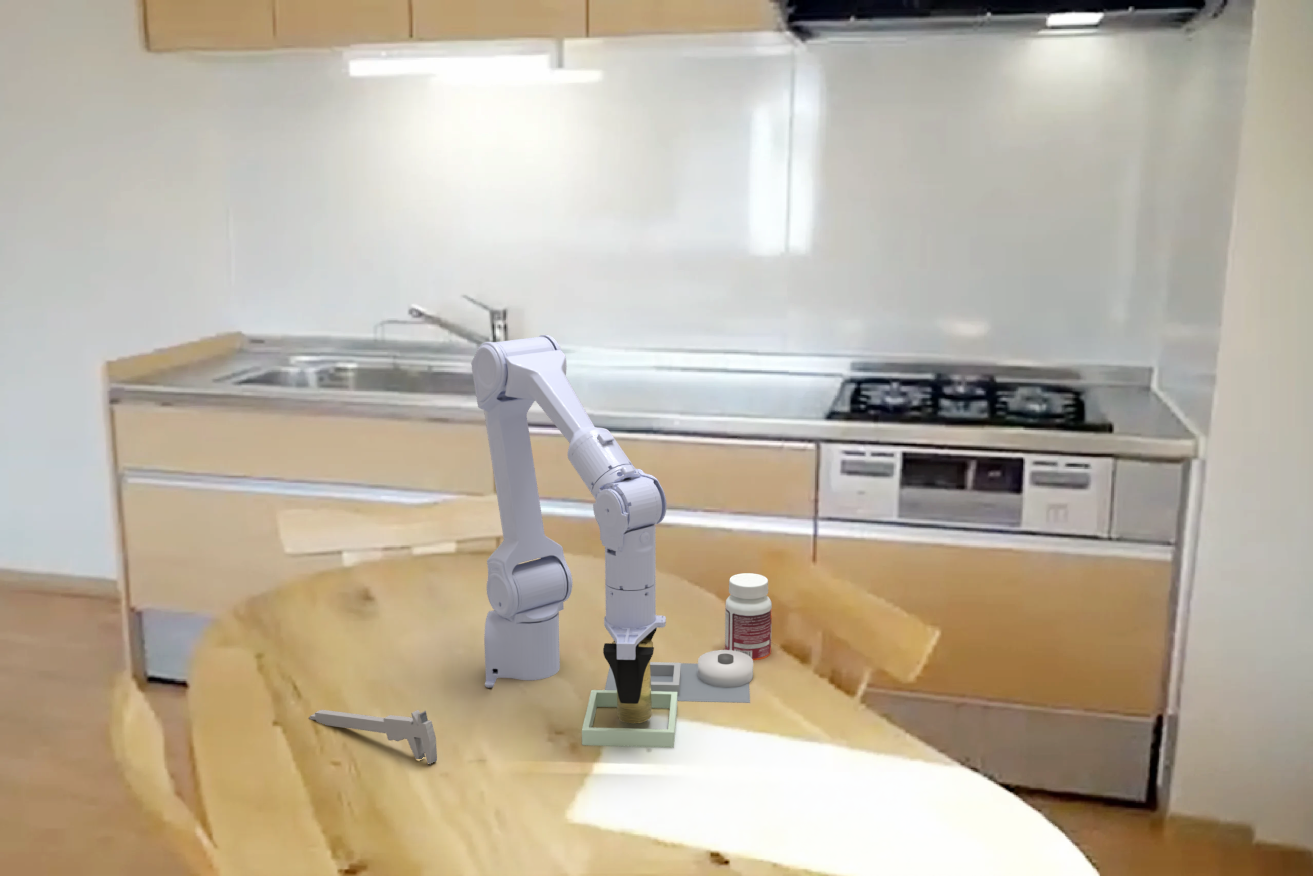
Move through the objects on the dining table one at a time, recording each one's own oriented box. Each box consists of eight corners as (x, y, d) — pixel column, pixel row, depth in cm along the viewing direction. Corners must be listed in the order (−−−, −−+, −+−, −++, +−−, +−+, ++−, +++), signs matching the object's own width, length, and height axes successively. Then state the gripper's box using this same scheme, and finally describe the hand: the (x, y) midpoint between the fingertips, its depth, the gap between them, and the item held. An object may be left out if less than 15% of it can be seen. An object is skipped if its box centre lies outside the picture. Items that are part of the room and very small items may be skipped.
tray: (582, 754, 139) (581, 730, 139) (591, 712, 149) (591, 689, 149) (673, 756, 139) (673, 732, 138) (677, 714, 149) (677, 691, 148)
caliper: (437, 765, 138) (435, 713, 136) (431, 769, 137) (428, 717, 135) (315, 717, 149) (311, 669, 147) (308, 720, 148) (304, 672, 147)
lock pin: (612, 725, 142) (609, 653, 139) (615, 705, 146) (612, 635, 144) (654, 725, 141) (652, 653, 139) (656, 705, 146) (654, 635, 144)
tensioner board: (602, 708, 151) (602, 679, 150) (610, 670, 161) (610, 643, 160) (754, 711, 150) (754, 682, 149) (752, 673, 160) (752, 646, 159)
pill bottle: (780, 661, 164) (782, 581, 161) (743, 672, 161) (744, 591, 158) (751, 646, 169) (753, 568, 166) (715, 656, 166) (716, 577, 163)
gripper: (662, 606, 132) (662, 722, 136) (668, 561, 146) (668, 667, 150) (597, 605, 133) (598, 720, 136) (609, 560, 147) (610, 665, 150)
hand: (631, 692), depth 143 cm, fingers closed on lock pin, 4 cm apart
